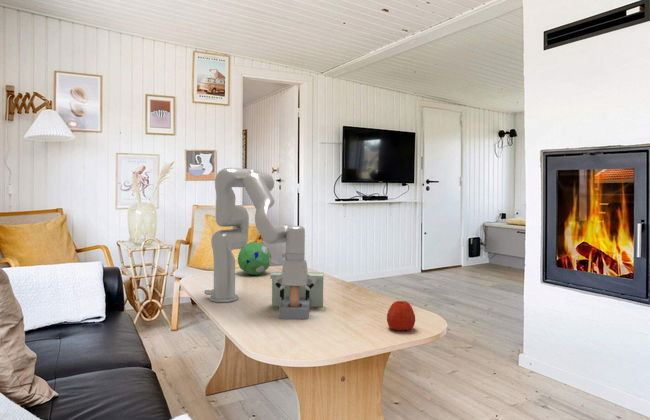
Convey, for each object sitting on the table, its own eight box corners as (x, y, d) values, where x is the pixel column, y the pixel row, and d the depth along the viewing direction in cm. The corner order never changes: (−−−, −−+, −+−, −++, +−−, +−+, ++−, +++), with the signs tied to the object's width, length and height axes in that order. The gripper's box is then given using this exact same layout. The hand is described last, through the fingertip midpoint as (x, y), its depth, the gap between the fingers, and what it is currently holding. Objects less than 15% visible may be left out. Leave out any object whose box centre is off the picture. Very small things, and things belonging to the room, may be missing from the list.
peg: (288, 316, 173) (289, 286, 173) (289, 313, 177) (290, 284, 177) (299, 316, 173) (299, 286, 172) (299, 313, 177) (300, 284, 176)
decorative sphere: (266, 285, 254) (250, 270, 239) (241, 274, 264) (224, 259, 249) (282, 257, 261) (268, 241, 246) (258, 248, 271) (242, 232, 256)
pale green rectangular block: (270, 309, 183) (270, 275, 182) (272, 305, 190) (272, 271, 189) (322, 310, 182) (323, 275, 182) (323, 305, 189) (323, 272, 188)
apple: (396, 335, 153) (396, 305, 152) (381, 326, 162) (381, 298, 162) (420, 331, 157) (421, 302, 156) (404, 323, 166) (404, 296, 166)
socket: (279, 318, 170) (279, 308, 170) (284, 306, 187) (284, 297, 187) (307, 319, 170) (307, 309, 169) (310, 307, 187) (310, 297, 187)
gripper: (272, 258, 170) (271, 301, 171) (316, 258, 170) (315, 302, 171) (274, 255, 178) (274, 296, 179) (317, 255, 178) (316, 297, 178)
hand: (294, 299), depth 175 cm, fingers open, 9 cm apart
